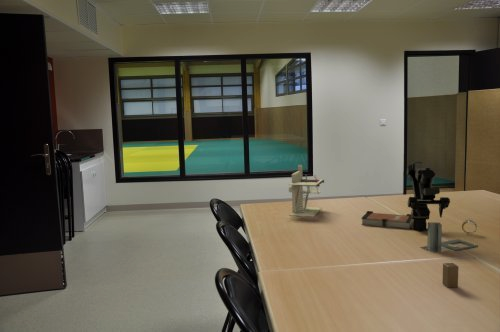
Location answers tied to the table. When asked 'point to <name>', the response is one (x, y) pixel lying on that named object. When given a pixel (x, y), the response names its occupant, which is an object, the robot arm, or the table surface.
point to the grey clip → (434, 235)
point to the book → (387, 220)
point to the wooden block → (450, 275)
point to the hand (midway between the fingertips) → (430, 217)
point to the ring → (467, 222)
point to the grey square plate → (434, 249)
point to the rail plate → (449, 245)
